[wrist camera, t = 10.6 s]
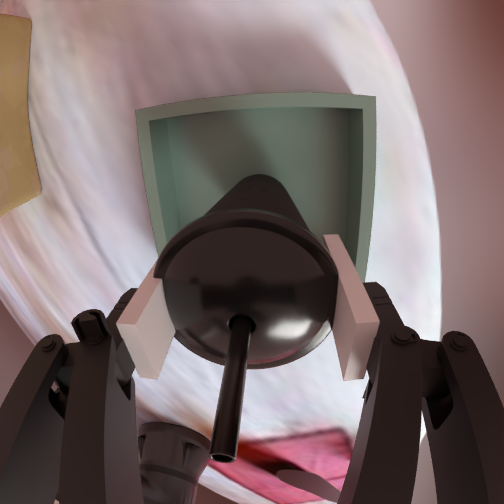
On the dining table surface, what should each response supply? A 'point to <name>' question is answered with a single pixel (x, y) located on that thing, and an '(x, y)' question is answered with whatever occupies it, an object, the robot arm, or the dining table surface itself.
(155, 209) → the grey-green shallow box
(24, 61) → the cheese
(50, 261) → the dining table surface
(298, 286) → the drinking cup
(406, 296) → the dining table surface
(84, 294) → the dining table surface
